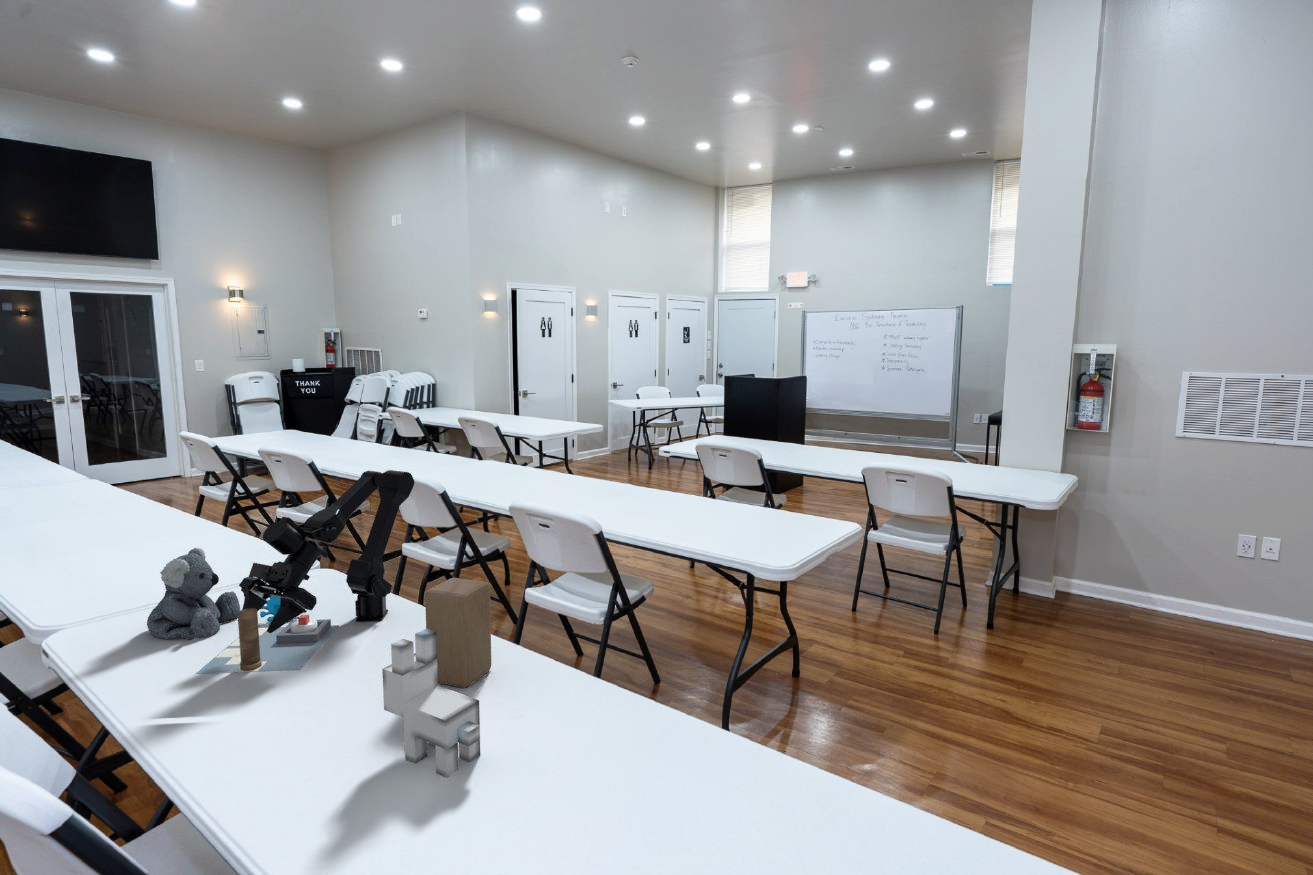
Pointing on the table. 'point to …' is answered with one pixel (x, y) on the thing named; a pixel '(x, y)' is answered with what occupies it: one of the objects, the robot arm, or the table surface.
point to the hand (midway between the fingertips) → (254, 628)
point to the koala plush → (190, 600)
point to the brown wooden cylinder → (249, 639)
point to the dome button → (304, 625)
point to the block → (460, 629)
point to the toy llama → (430, 706)
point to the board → (274, 650)
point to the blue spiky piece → (271, 608)
